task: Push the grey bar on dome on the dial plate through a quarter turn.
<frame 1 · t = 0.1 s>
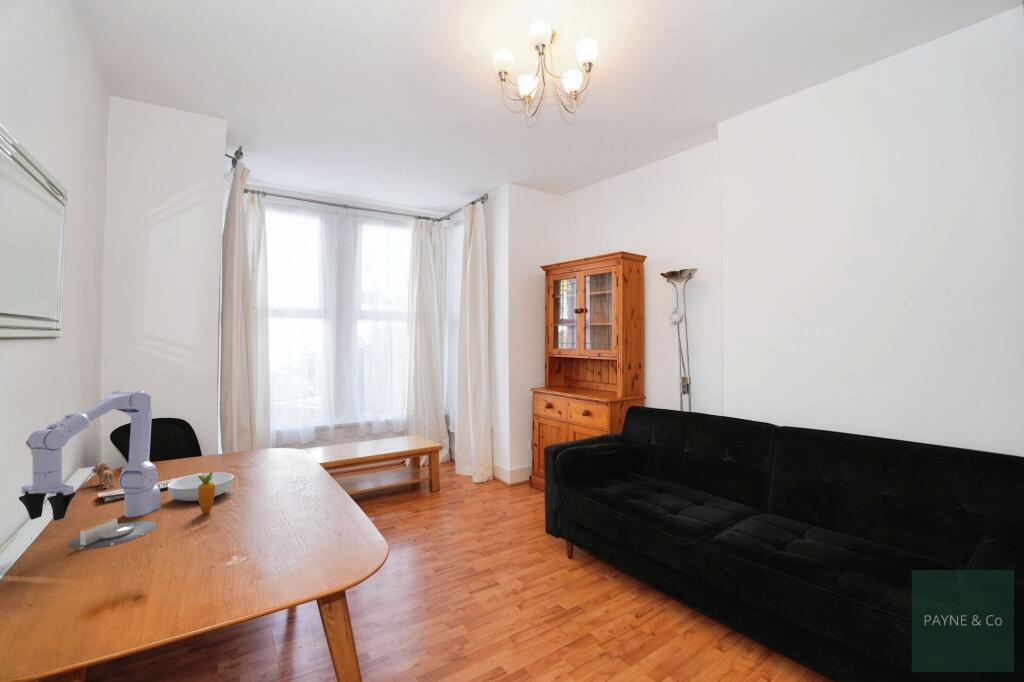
hand: (47, 518, 124), 10 cm above the table, tool pointing down, fingers open, 7 cm apart
lion figurine: (104, 486, 184), on the table
carrot: (206, 516, 150), on the table
piano keyboard: (155, 490, 179), on the table
dial plate: (114, 537, 134), on the table
grey bar on dome: (107, 529, 132), point 3 cm above the table, hinge at 0.0°
serving bowl: (201, 498, 169), on the table
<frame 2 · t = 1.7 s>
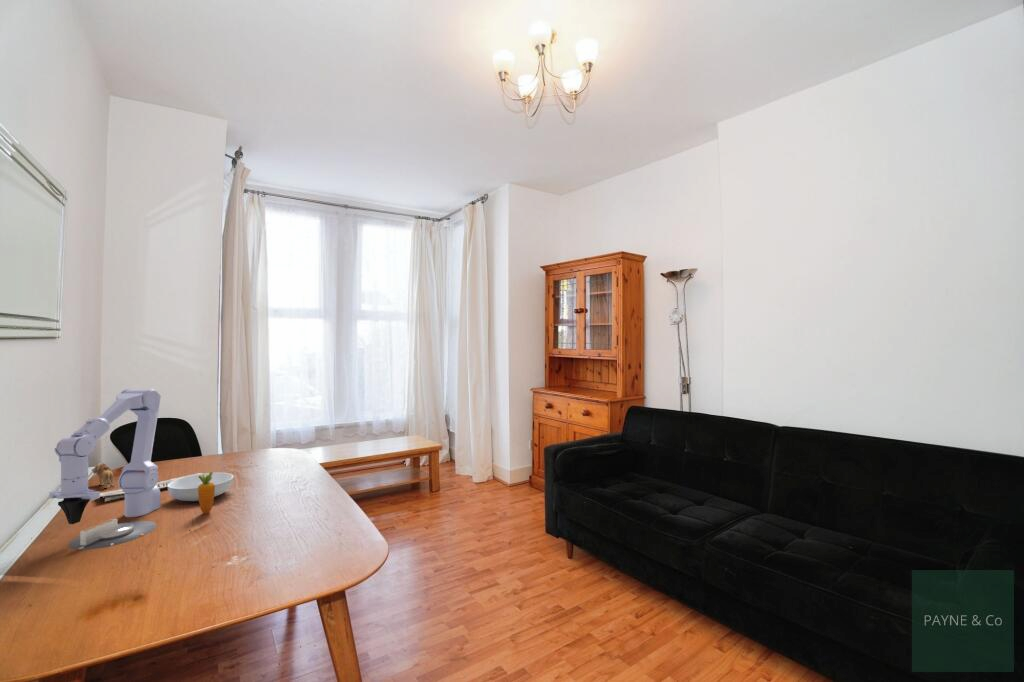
hand: (74, 522, 129), 7 cm above the table, tool pointing down, fingers closed
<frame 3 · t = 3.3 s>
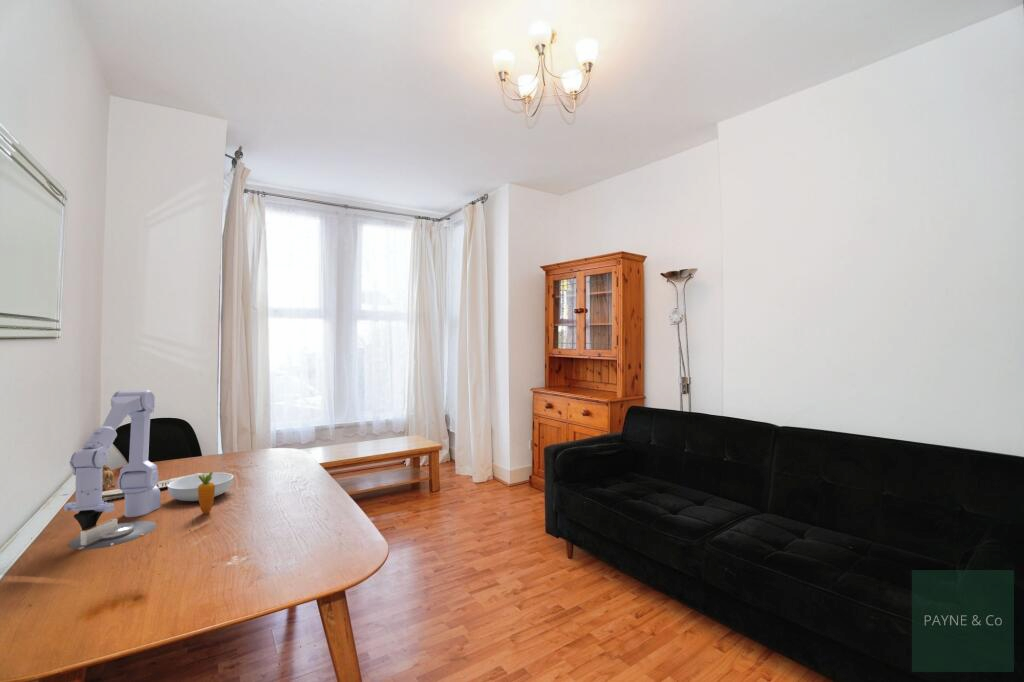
hand: (89, 535, 128), 3 cm above the table, tool pointing down, fingers closed, pressing on grey bar on dome
grey bar on dome: (107, 529, 132), point 3 cm above the table, hinge at 0.6°, touching gripper
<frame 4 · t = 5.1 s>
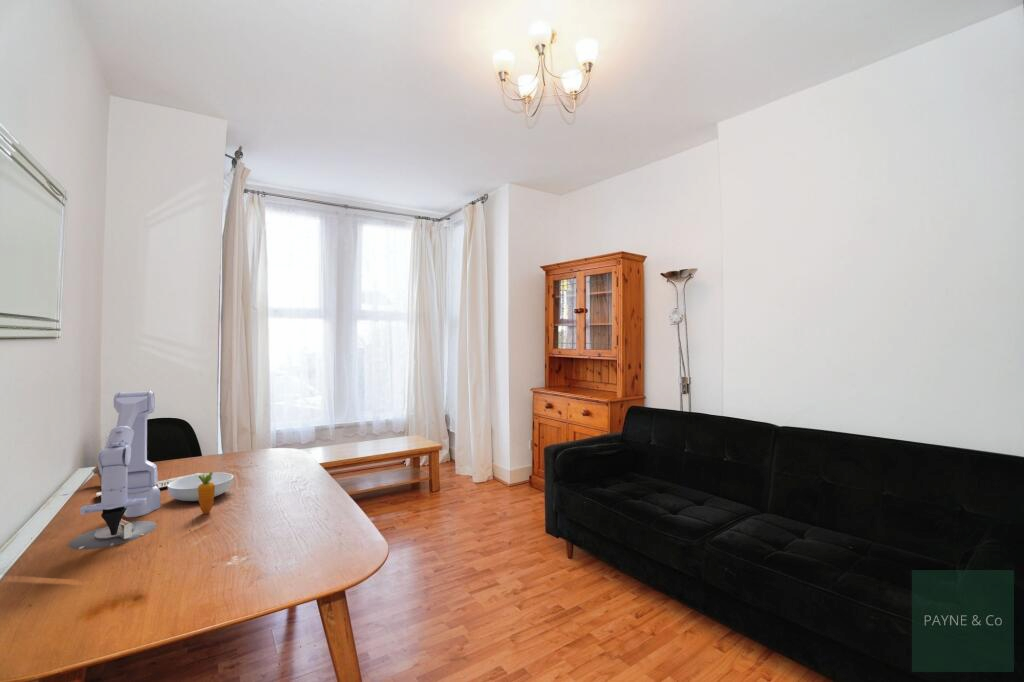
hand: (114, 534, 128), 3 cm above the table, tool pointing down, fingers closed
grey bar on dome: (118, 527, 133), point 3 cm above the table, hinge at 67.3°, touching gripper
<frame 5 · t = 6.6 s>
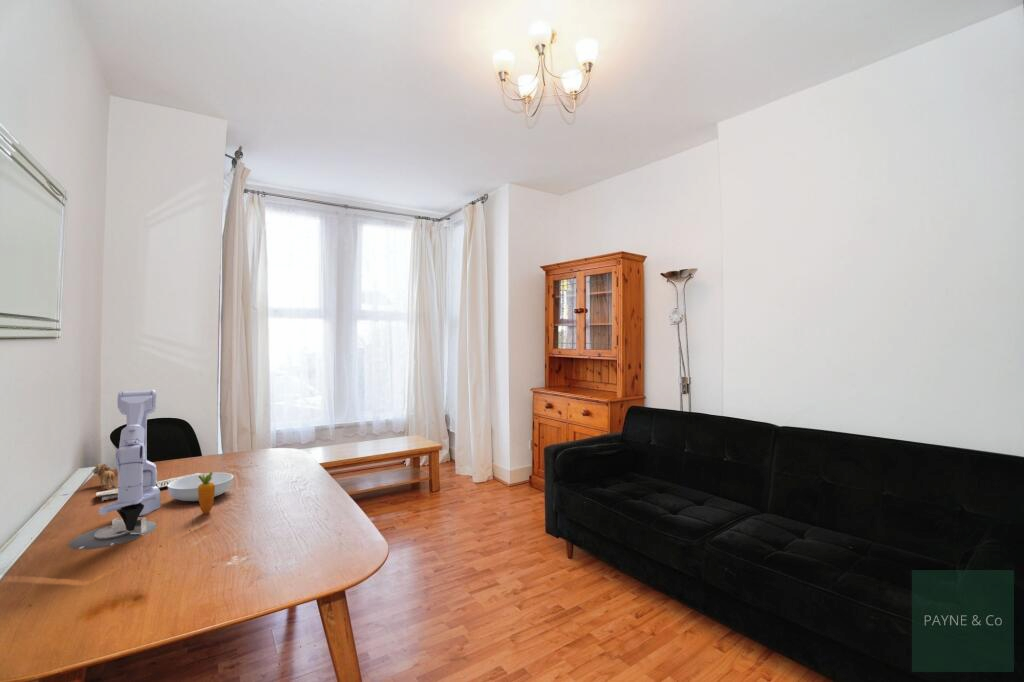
hand: (130, 529, 132), 3 cm above the table, tool pointing down, fingers closed
grey bar on dome: (122, 526, 134), point 3 cm above the table, hinge at 95.5°, touching gripper
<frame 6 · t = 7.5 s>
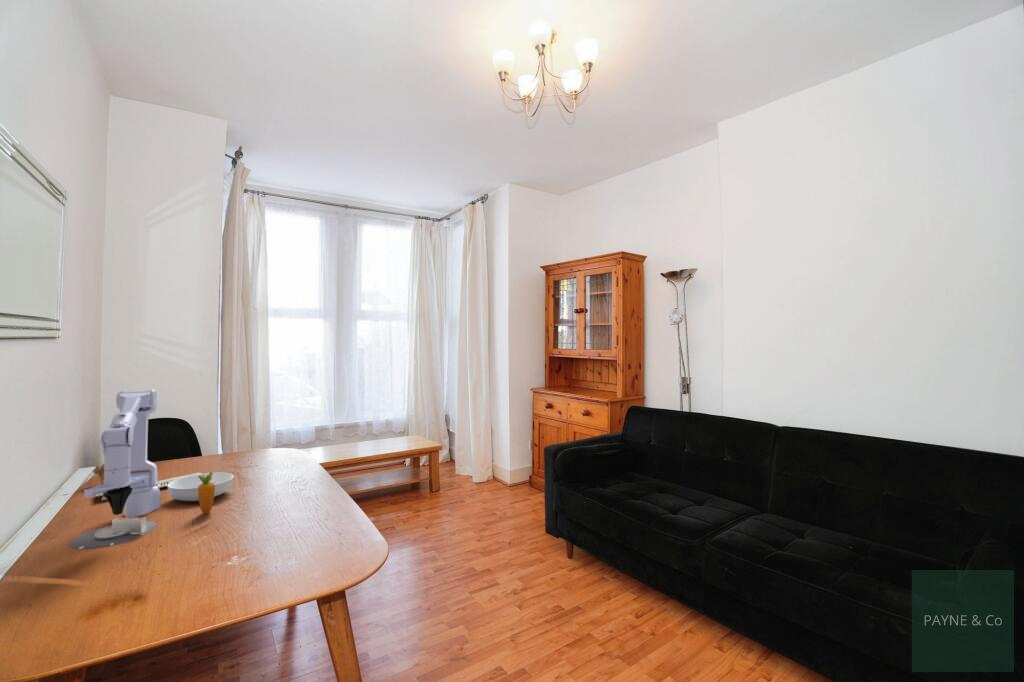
hand: (117, 513, 129), 9 cm above the table, tool pointing down, fingers closed
grey bar on dome: (122, 526, 134), point 3 cm above the table, hinge at 95.7°
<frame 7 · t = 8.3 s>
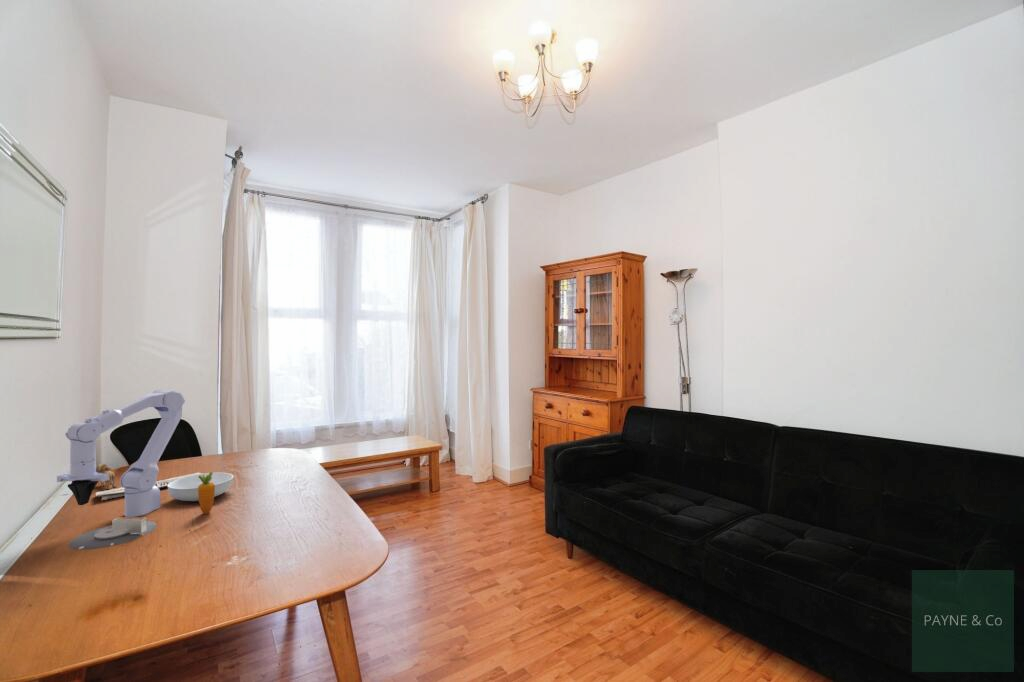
hand: (83, 504, 137), 9 cm above the table, tool pointing down, fingers closed
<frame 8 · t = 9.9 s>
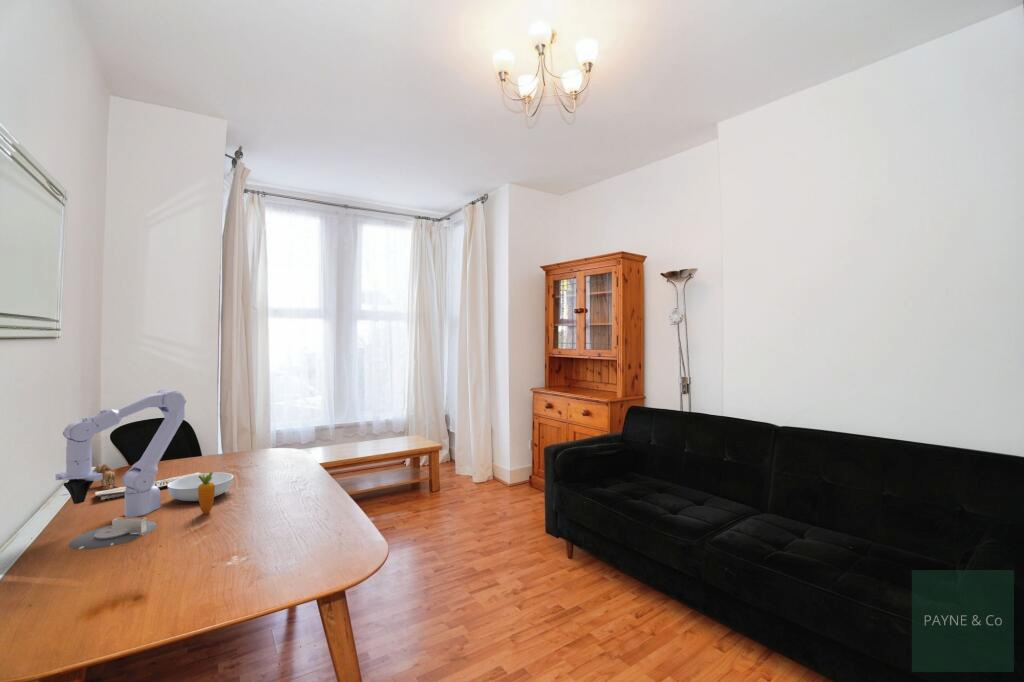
hand: (79, 502, 138), 9 cm above the table, tool pointing down, fingers closed
at the end: grey bar on dome at +96° (first picture: +0°); carrot moved 0.2 cm from its start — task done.
